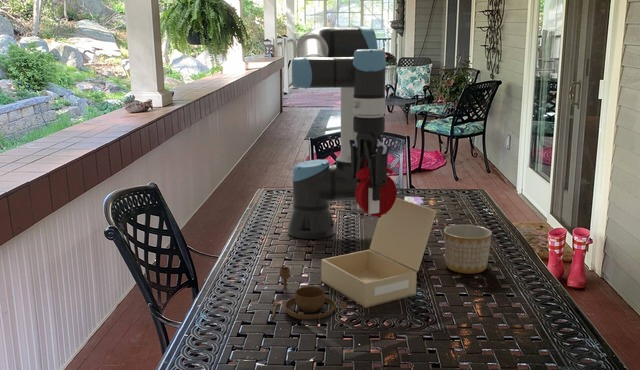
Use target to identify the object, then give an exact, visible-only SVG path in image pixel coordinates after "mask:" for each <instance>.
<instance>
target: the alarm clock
mask: <svg viewBox="0 0 640 370" xmlns="http://www.w3.org/2000/svg"><path fill="white" fill-rule="evenodd" d="M367 161H368V159H367V160H366V162H367ZM366 162H365V167H366ZM365 167H364V168H363V167H362V169H360V170H359V171H358V172H357V174H356V176H357V178H358V179H361V180H360V182H359V183H358V185H357V187H356V191H355V197H356V201H355V202H356V203H358V205H359V206H360V207H361V208H362V209H361V210H363V212H362V216H361V217H360V219H361V220H362V219H363V218H364V215H365V213H366V214H368V196H369V187H368V186H371V182H370V173H369V168H367V167H366V168H365ZM393 171H394V170H393V169H392V168H391V167H389V166H387V174H388V175H387V184H386V185H385V186H381V188H380V200H379V213H374V214H368V215H370V216H372V217H377V218H380V217H381V215H383V214H387V212H388V211H389V210H390V209H391V208H392V206H393V205H394V203H395V200H396V198H397V197H398V196H397V193H398V191H397V185H396V183H395V181H394V180H393V179H392V178H391V177H390V176H389V175H393V174H394V173H393Z"/></svg>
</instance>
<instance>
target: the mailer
mask: <svg viewBox="0 0 640 370" xmlns="http://www.w3.org/2000/svg"><path fill="white" fill-rule="evenodd" d="M320 270H321V272H320V273H321V277H320V278H321V282H322V283H323V284H324V285H327V286H328V287H330V288H331V289H333V290H335V291H336V292H338V293H340V294H341V295H344V296H345V297H347V298H349V299H350V300H352V301H353V302H355V303H356V304H358V305H360V306H362V307H363V308H364V309H367V308H370V307H375V306H379V305H383V304H386V303H390V302H395V301H398V300H401V299H405V298H411V297H414V296H417V272H418V271H416V270H413V269H411V268H409V267H407V266H405V265H403V264H401V263H398V262H396V261H394V260H392V259H390V258H388V257H386V256H383V255H381V254H379V253H377V252H375V251H373V250H371V249H366V250H361V251H355V252H351V253H347V254H342V255H338V256H337V255H335V256H332V257H326V258H322V259H321V269H320Z"/></svg>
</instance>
